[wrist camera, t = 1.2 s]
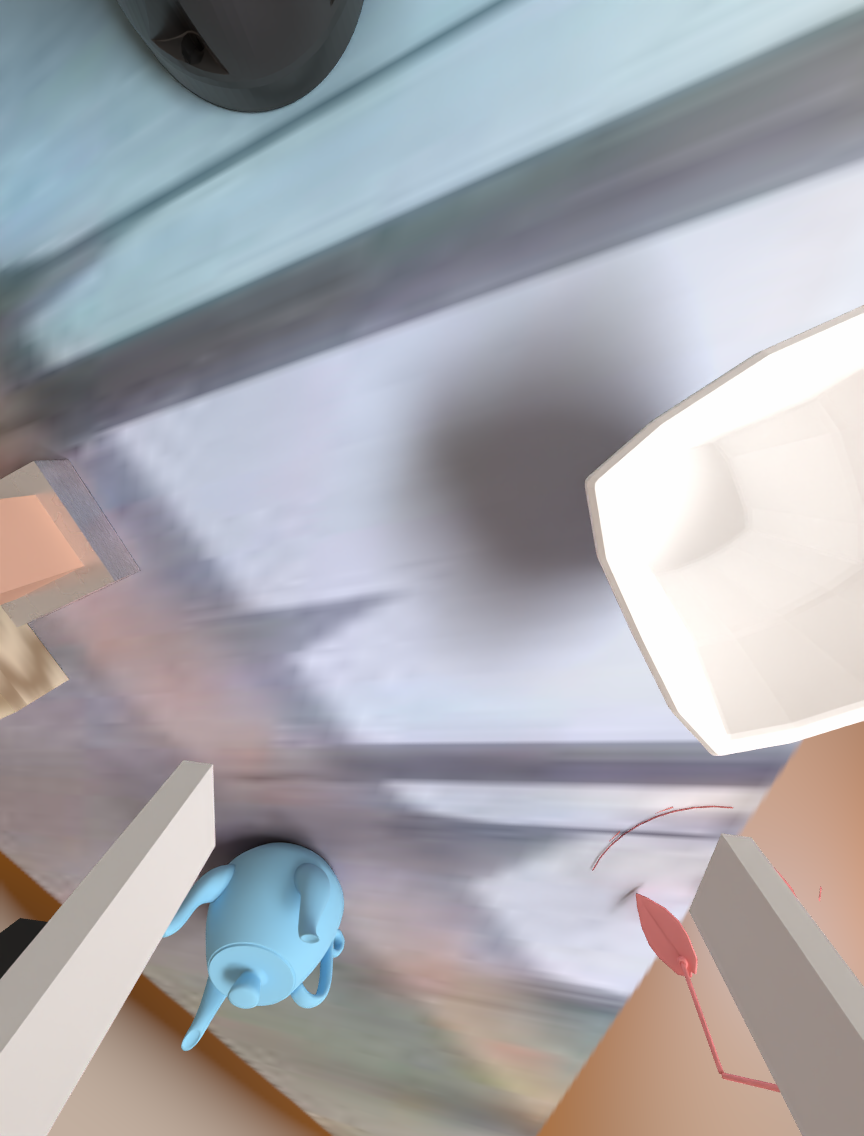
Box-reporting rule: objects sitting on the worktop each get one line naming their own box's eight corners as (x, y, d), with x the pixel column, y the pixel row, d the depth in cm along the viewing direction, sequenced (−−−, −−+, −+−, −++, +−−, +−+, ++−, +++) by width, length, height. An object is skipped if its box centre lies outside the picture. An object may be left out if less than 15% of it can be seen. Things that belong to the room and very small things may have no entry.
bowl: (759, 318, 29) (1023, 209, 16) (839, 559, 33) (1099, 636, 20) (511, 456, 32) (554, 465, 19) (612, 660, 36) (706, 785, 23)
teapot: (360, 931, 47) (337, 1060, 37) (227, 929, 48) (170, 1056, 38) (347, 825, 43) (317, 939, 33) (202, 825, 44) (131, 936, 34)
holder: (-26, 510, 35) (-67, 516, 32) (68, 459, 34) (33, 460, 31) (49, 614, 38) (17, 627, 35) (140, 570, 36) (114, 581, 33)
